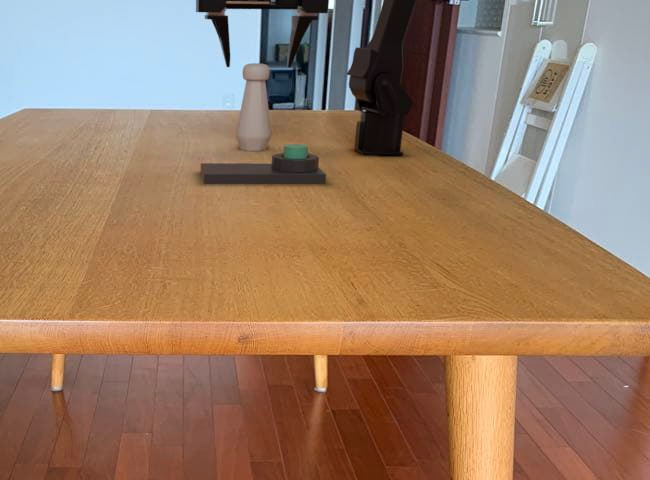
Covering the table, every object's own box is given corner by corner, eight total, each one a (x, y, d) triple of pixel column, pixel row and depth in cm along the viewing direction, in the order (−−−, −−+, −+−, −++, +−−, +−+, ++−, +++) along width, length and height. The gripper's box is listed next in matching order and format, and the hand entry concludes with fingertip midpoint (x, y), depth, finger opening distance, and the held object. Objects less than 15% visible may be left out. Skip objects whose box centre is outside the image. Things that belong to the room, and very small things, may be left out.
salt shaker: (271, 152, 130) (276, 64, 125) (236, 151, 130) (238, 64, 125) (269, 146, 136) (273, 62, 130) (234, 146, 136) (237, 62, 130)
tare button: (304, 157, 110) (305, 143, 109) (309, 161, 107) (310, 147, 106) (281, 157, 110) (282, 143, 109) (285, 161, 107) (286, 147, 106)
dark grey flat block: (313, 173, 113) (315, 151, 112) (325, 184, 106) (327, 161, 105) (200, 173, 113) (200, 151, 111) (204, 184, 106) (204, 161, 104)
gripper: (316, -48, 122) (309, 64, 129) (193, -50, 121) (192, 63, 128) (333, -53, 112) (324, 68, 119) (199, -55, 111) (198, 68, 118)
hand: (258, 67), depth 121 cm, fingers open, 9 cm apart
